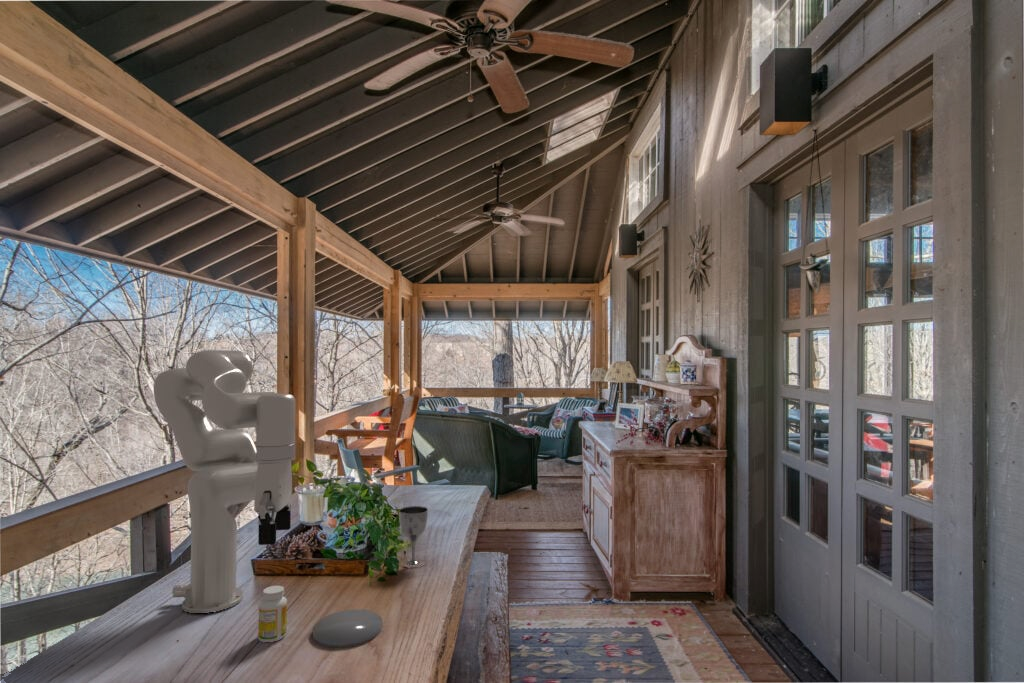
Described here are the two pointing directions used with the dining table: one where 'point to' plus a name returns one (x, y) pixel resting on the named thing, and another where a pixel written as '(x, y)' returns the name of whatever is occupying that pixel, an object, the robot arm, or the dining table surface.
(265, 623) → the supplement bottle
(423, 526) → the wine glass
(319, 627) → the smooth grey river stone
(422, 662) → the dining table surface
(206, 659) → the dining table surface
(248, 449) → the robot arm
